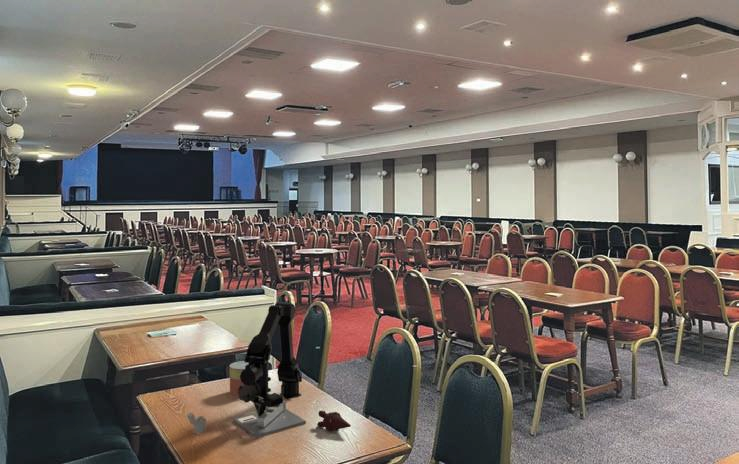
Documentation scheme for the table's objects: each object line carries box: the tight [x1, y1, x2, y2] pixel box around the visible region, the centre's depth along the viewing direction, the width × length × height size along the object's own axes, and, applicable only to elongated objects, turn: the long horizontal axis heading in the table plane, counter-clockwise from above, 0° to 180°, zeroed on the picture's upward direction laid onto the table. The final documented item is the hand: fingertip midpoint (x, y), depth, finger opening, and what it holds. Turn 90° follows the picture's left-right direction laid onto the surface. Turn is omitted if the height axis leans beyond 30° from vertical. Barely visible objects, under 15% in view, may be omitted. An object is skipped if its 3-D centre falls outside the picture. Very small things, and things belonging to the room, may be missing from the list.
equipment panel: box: [231, 408, 307, 439], centre depth 201 cm, size 20×18×1 cm
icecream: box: [317, 410, 351, 433], centre depth 194 cm, size 7×7×15 cm
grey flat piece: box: [186, 412, 207, 435], centre depth 192 cm, size 7×2×8 cm, turn 151°
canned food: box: [228, 360, 249, 399], centre depth 230 cm, size 11×11×12 cm
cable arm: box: [258, 399, 287, 427], centre depth 202 cm, size 18×3×3 cm, turn 164°
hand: (260, 417), depth 200 cm, fingers closed
